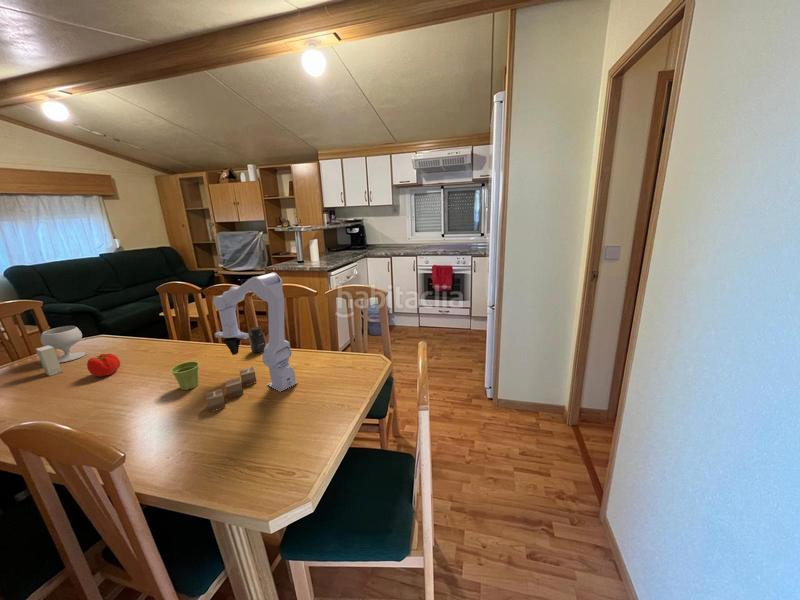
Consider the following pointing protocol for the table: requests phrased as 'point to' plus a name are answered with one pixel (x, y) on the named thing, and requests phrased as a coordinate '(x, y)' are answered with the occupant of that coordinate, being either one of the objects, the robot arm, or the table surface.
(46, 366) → the skincare box
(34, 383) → the table surface
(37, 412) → the table surface
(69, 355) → the chalice
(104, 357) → the tomato
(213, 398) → the block one
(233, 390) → the plain block
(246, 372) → the block seven
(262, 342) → the supplement bottle
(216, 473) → the table surface
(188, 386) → the plant pot
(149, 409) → the table surface
